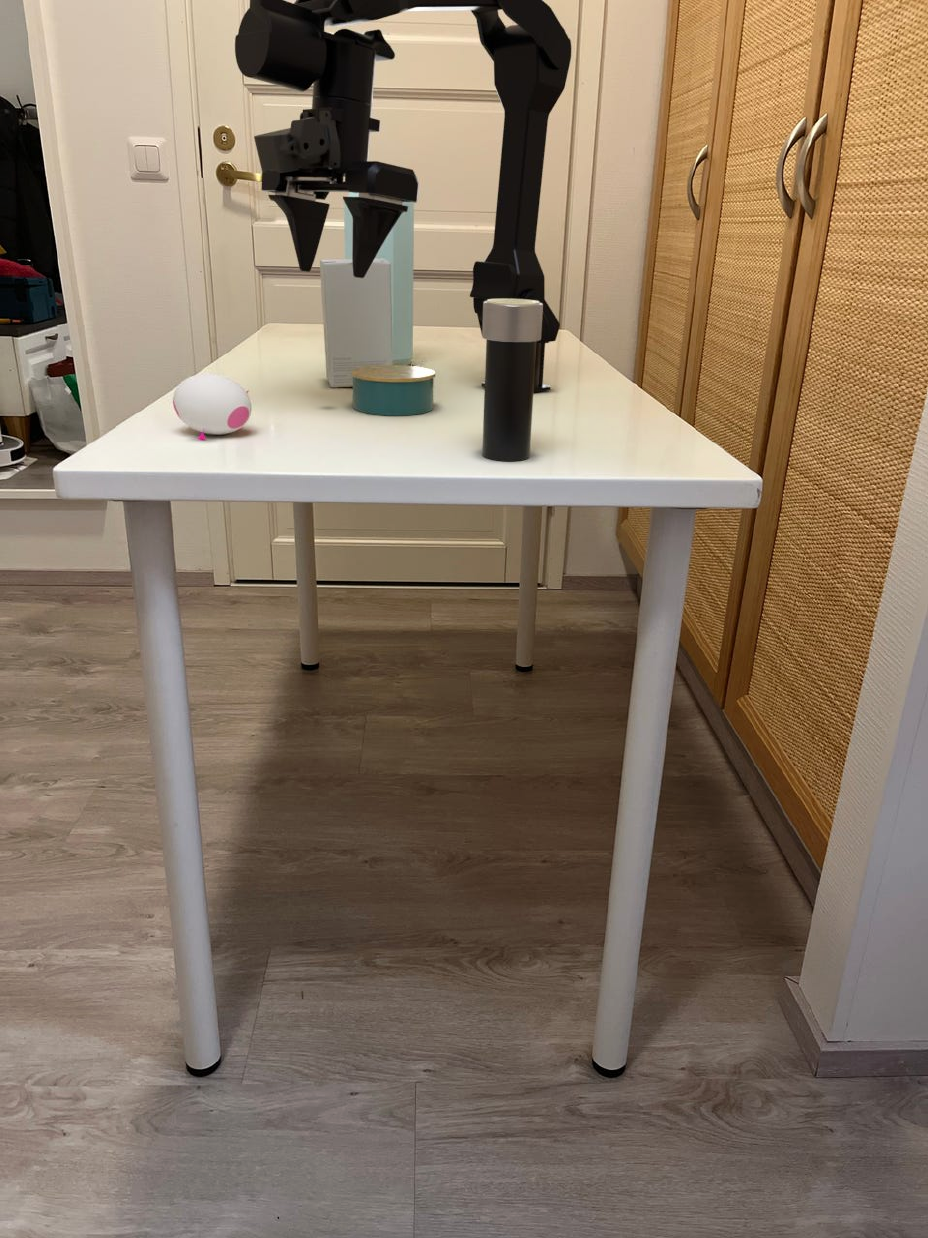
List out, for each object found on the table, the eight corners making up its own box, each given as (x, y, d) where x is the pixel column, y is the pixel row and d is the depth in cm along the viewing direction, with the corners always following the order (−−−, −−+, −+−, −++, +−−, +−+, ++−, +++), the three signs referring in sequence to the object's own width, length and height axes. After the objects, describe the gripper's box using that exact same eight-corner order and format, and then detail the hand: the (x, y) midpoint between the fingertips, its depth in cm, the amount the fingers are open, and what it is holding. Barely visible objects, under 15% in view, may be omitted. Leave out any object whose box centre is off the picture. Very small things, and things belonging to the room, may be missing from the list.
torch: (510, 446, 91) (518, 297, 86) (545, 458, 87) (555, 302, 82) (466, 452, 88) (471, 298, 83) (500, 465, 85) (508, 304, 79)
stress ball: (258, 465, 95) (272, 403, 96) (229, 433, 87) (244, 366, 88) (187, 456, 96) (202, 395, 97) (152, 424, 88) (168, 358, 89)
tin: (406, 396, 113) (406, 362, 112) (451, 411, 106) (452, 374, 105) (336, 403, 108) (335, 367, 106) (378, 419, 101) (378, 380, 99)
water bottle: (425, 361, 139) (427, 173, 129) (398, 371, 130) (399, 169, 120) (362, 356, 142) (360, 171, 132) (332, 365, 133) (328, 168, 123)
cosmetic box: (387, 379, 124) (386, 257, 118) (394, 387, 119) (394, 260, 113) (322, 380, 122) (319, 256, 116) (326, 388, 117) (323, 259, 111)
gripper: (217, 89, 92) (213, 259, 97) (331, 76, 80) (319, 272, 85) (312, 114, 100) (303, 271, 105) (430, 105, 87) (413, 284, 92)
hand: (331, 274), depth 97 cm, fingers open, 9 cm apart
